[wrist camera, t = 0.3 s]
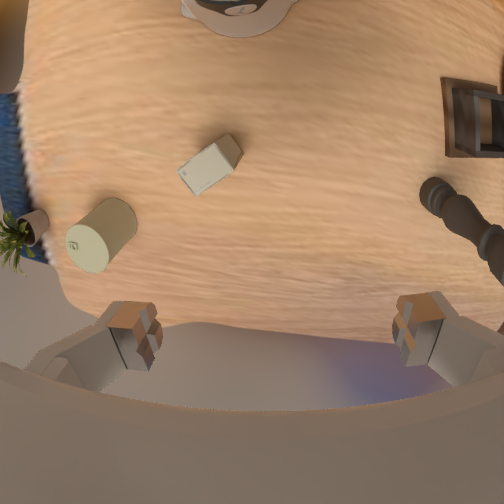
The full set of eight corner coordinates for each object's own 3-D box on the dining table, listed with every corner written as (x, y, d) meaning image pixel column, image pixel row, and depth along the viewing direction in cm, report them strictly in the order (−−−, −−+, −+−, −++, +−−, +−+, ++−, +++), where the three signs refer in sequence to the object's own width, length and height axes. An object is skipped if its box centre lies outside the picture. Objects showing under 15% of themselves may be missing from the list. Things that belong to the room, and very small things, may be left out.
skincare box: (213, 174, 46) (194, 199, 36) (197, 152, 45) (173, 171, 34) (245, 153, 44) (235, 172, 34) (229, 130, 43) (213, 142, 32)
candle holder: (442, 171, 42) (534, 236, 20) (449, 201, 44) (532, 276, 23) (415, 185, 44) (500, 260, 22) (424, 214, 46) (499, 299, 25)
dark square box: (440, 77, 34) (466, 77, 27) (492, 85, 32) (519, 89, 25) (445, 155, 40) (469, 167, 34) (494, 156, 38) (519, 168, 32)
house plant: (74, 212, 52) (25, 252, 37) (62, 258, 58) (22, 300, 44) (30, 180, 48) (-21, 211, 34) (22, 227, 54) (-20, 262, 40)
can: (97, 194, 49) (60, 220, 39) (138, 203, 50) (106, 232, 39) (97, 235, 54) (66, 267, 44) (136, 246, 54) (109, 281, 44)
